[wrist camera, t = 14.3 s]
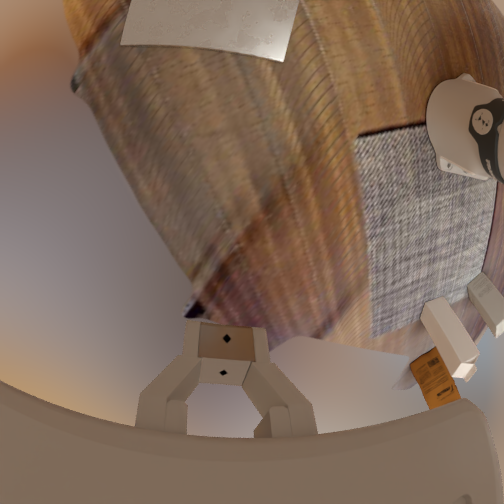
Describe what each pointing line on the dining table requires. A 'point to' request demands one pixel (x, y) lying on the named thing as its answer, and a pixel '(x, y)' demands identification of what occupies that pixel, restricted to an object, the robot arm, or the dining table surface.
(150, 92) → the dining table surface
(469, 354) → the milk
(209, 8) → the console
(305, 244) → the dining table surface
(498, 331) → the skincare box
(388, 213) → the dining table surface
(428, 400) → the coffee package
